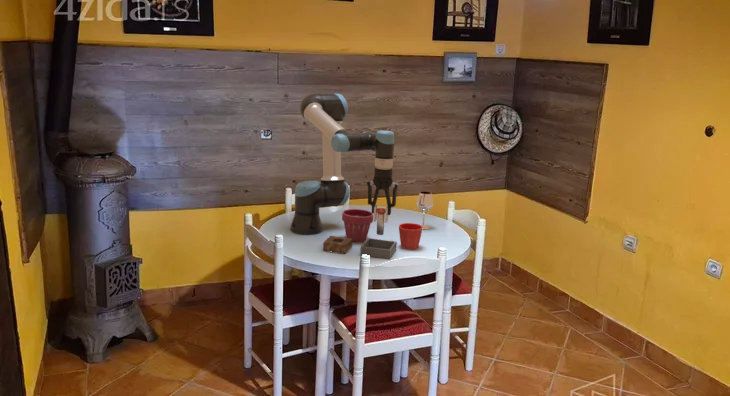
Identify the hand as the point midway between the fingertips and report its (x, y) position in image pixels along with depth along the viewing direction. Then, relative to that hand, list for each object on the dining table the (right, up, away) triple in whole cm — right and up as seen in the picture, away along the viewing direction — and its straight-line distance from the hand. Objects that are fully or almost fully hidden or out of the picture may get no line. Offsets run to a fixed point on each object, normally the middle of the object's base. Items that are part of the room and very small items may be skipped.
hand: (380, 221), depth 261 cm
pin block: (-19, -12, +6) cm, 23 cm away
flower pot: (+13, -12, +14) cm, 23 cm away
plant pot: (-11, -9, +21) cm, 25 cm away
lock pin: (0, -6, +1) cm, 6 cm away
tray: (-1, -14, +4) cm, 14 cm away
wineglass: (+22, -5, +45) cm, 51 cm away
